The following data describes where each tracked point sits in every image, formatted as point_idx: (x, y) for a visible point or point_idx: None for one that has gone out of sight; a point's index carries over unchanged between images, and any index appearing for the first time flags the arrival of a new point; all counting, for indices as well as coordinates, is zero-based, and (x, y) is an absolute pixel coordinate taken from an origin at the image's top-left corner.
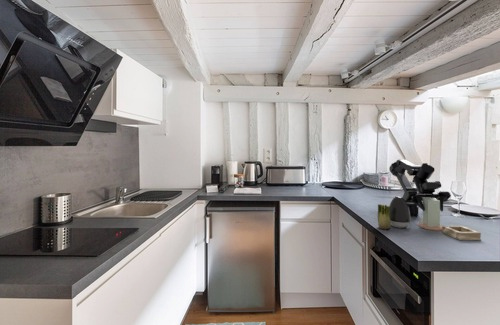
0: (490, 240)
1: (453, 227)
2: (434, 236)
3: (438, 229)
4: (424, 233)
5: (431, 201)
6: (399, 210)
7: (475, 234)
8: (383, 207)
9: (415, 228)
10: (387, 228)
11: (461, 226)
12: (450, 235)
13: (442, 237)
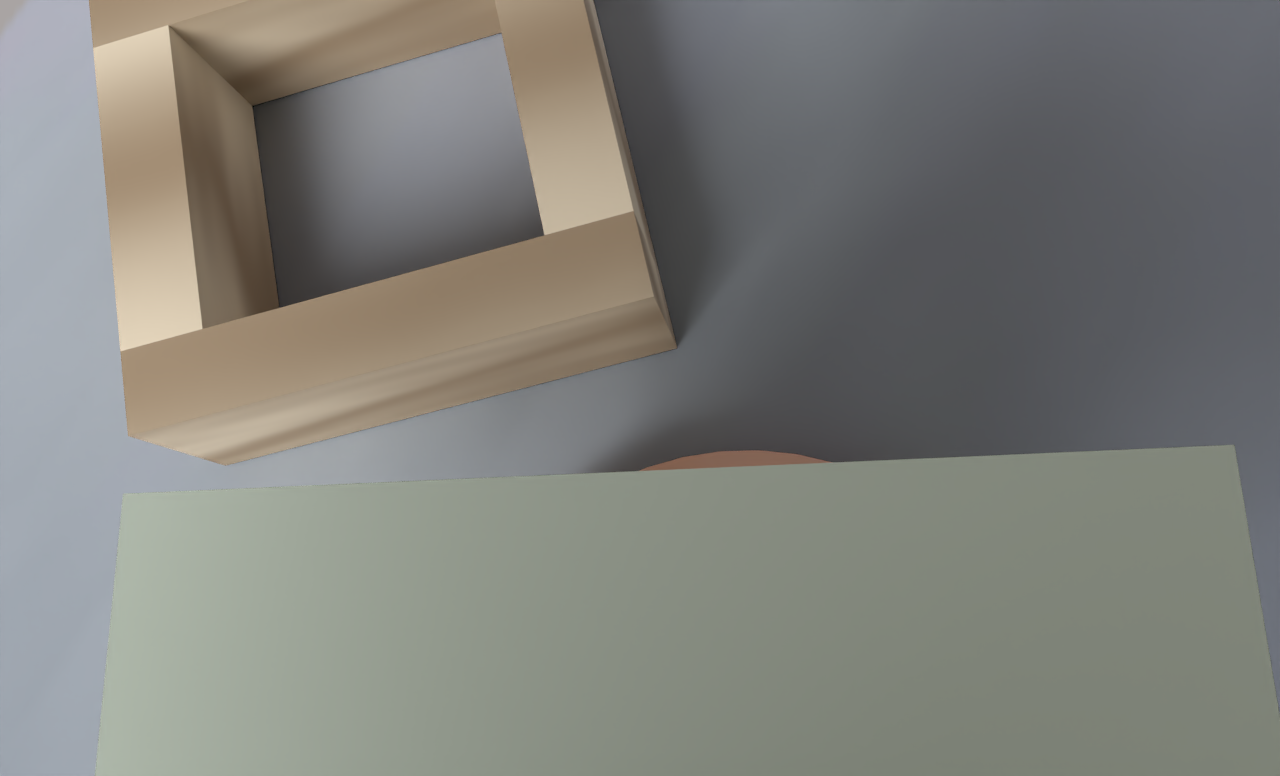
0: (36, 73)
1: (408, 281)
2: (988, 25)
3: (697, 457)
4: (1146, 172)
5: (879, 469)
6: None
7: None
8: None
9: (1254, 536)
10: None
11: (178, 363)
12: (621, 126)
13: (839, 7)
